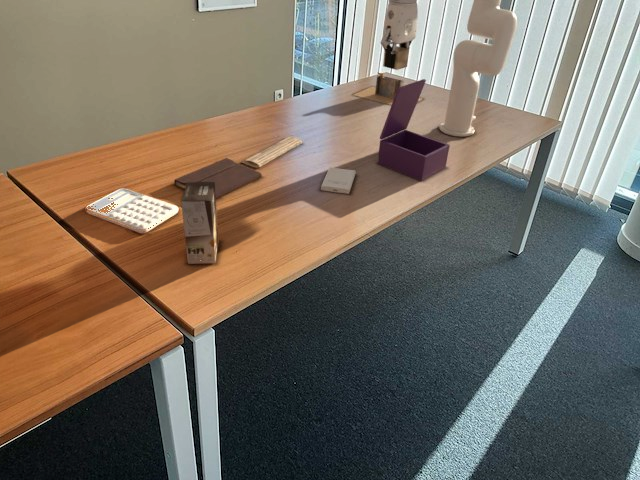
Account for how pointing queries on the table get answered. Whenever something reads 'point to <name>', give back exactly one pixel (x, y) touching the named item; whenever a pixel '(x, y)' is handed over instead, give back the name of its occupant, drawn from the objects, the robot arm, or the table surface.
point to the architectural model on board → (383, 90)
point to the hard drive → (338, 180)
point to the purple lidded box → (413, 154)
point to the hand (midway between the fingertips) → (395, 65)
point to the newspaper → (272, 152)
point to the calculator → (134, 210)
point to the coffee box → (200, 222)
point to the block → (400, 58)
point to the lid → (402, 108)
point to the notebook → (221, 176)
